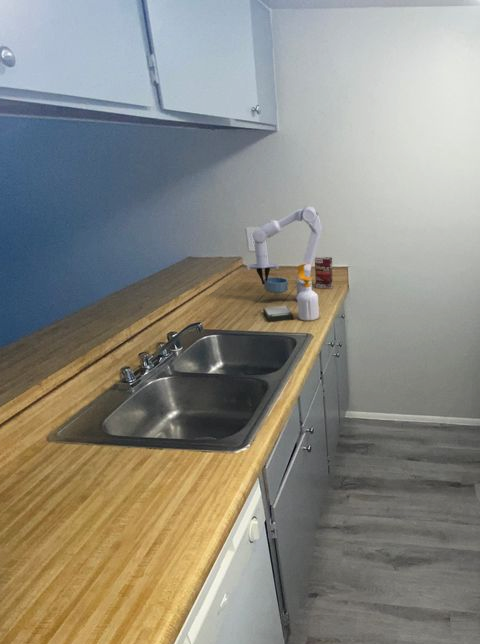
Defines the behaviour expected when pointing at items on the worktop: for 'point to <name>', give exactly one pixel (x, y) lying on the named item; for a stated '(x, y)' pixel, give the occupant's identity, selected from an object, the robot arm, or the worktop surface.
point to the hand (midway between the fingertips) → (264, 283)
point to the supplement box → (323, 272)
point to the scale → (277, 313)
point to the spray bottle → (307, 298)
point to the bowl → (276, 285)
